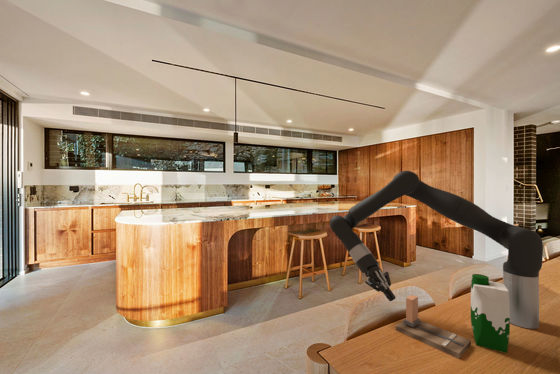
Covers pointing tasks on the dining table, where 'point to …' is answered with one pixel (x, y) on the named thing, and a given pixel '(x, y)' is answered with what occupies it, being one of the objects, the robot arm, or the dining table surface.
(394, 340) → the dining table surface
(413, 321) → the fader
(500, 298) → the milk carton
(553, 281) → the dining table surface
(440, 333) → the console
